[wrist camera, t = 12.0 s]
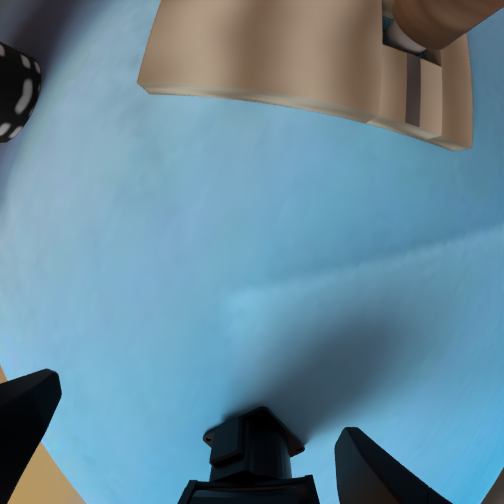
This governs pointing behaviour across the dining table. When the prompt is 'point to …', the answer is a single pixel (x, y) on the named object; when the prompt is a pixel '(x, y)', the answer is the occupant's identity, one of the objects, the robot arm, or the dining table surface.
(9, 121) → the spotted tube
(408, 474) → the robot arm
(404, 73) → the board
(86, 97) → the dining table surface
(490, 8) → the brown wooden peg
